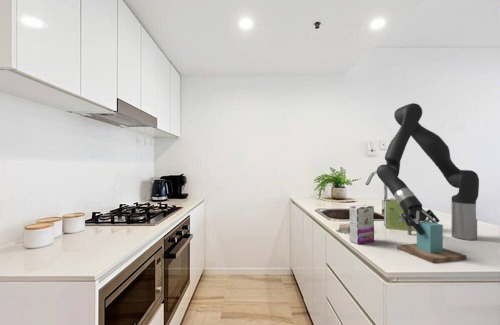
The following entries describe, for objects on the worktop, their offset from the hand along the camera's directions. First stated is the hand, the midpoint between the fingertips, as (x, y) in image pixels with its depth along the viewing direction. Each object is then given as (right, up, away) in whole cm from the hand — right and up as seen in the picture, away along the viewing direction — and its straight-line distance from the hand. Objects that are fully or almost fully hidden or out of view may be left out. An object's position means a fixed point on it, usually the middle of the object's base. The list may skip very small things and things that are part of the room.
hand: (431, 233), depth 100 cm
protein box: (+13, -9, +43) cm, 46 cm away
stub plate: (0, -8, +1) cm, 8 cm away
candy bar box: (-21, -8, +16) cm, 28 cm away
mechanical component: (+9, -9, +29) cm, 31 cm away
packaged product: (-16, -9, +34) cm, 39 cm away
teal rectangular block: (-1, -7, +1) cm, 7 cm away
